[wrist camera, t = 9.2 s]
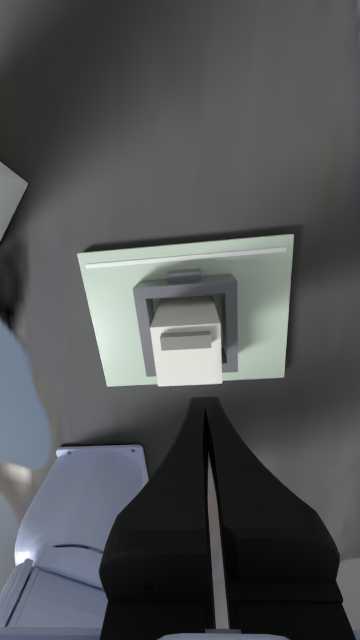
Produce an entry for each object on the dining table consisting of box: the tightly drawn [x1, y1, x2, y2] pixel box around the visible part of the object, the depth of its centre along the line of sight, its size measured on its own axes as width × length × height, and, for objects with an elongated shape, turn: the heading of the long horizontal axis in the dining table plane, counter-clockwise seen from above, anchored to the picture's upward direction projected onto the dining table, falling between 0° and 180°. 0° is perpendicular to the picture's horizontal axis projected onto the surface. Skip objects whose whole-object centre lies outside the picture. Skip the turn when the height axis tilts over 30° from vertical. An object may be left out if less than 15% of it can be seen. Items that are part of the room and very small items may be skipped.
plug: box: [150, 295, 222, 386], centre depth 17 cm, size 4×4×7 cm
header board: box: [77, 234, 294, 387], centre depth 20 cm, size 16×12×4 cm
